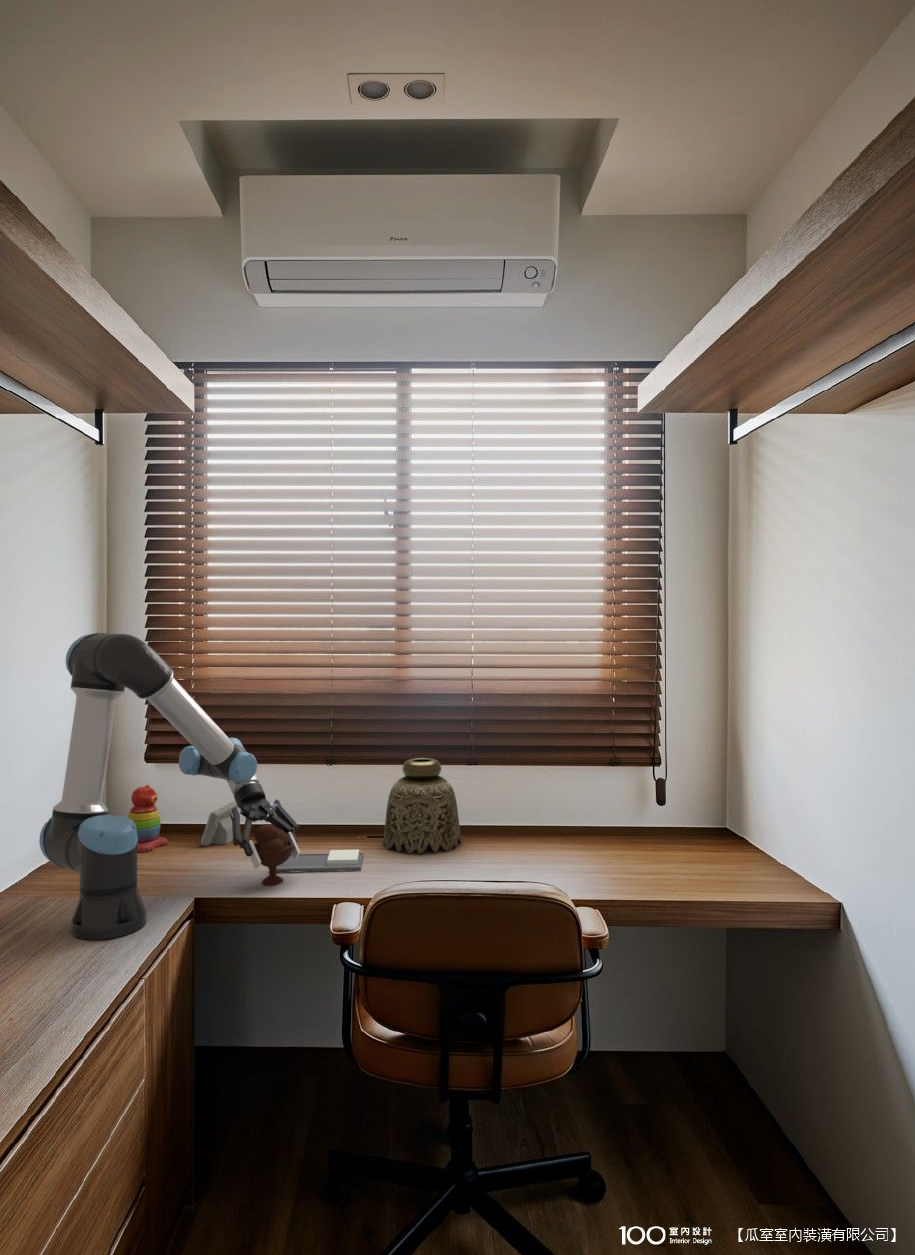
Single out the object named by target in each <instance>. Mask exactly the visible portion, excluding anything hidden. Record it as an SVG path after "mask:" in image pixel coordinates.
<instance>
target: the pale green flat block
mask: <svg viewBox="0 0 915 1255" xmlns="http://www.w3.org/2000/svg"><path fill="white" fill-rule="evenodd" d="M359 852H360V849H330V851H329V852H328V853H329V856H328V859H327V866H357V864H358V859H359Z"/></svg>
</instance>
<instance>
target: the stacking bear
mask: <svg viewBox="0 0 915 1255" xmlns="http://www.w3.org/2000/svg"><path fill="white" fill-rule="evenodd" d="M158 797H159V796H158V794H157V793H156V791H155V790H154V789H153V787H151V786H150V785H149V784H146V785H145V786H140V787H137V788H135V789H134V790H133V791H132V793H131V803H132V805H133V806H132V807H131V808H130V810H129V811H128V816H127V818H129V819H131V820H132V821H133V822H134V823H135V825H136V830H137V836H138V842H137V851H138V852H137V853H148V852H147V851H149V852H151V851H150V850H152V851H153V850H154V849H156V848H158V847H157V846H159V847H161V846H160V845H164V846H166V845H165V844H166V843H168V844H169V841H168V839H167V838H165V837H163V836H159V835H160V830H161V822H162V821H161V817H160V814H159V810H158V807H157V805H156V802H157V801H158ZM155 847H156V848H155Z"/></svg>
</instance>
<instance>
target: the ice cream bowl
mask: <svg viewBox="0 0 915 1255" xmlns="http://www.w3.org/2000/svg"><path fill="white" fill-rule="evenodd" d="M254 839H255V842H254V843H253V844H254V846H255V848H256V851H257V853H258V855H259V858H260V860H261V864H260V865H261V866H263V867H266V868H268V876H266V877H265V878H263V879H262V881H261V884H262V885H263V886H269V887H271V886H272V887H273V886H279V885H281V884H283V883H284V877H283V878H282V877H281V876H278V875H277V873H276V867H277V866H279V865H281V864H283V863H284V862H285V861H286V860H287V859H288V858H289V857H290V855H291V854H292V850H293V845H294V843H293V842H291V841H288V835H287V834H286V833H285V832H284V831H283V830H281V829H278V828H276V827H275V826H274V825H272V824H271V823H270V824H269V823H267V824H263V825H260V827H258V828H257V829H256V830H255V833H254Z"/></svg>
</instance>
